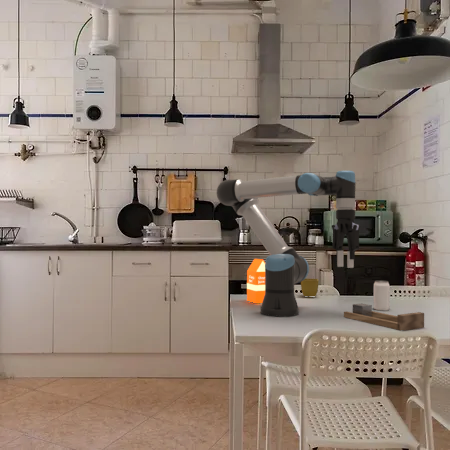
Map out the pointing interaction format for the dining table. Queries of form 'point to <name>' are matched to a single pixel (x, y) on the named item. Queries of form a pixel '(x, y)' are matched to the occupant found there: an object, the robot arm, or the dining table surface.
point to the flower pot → (309, 287)
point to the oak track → (391, 320)
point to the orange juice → (256, 281)
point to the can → (381, 295)
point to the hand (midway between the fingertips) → (345, 267)
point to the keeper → (362, 309)
